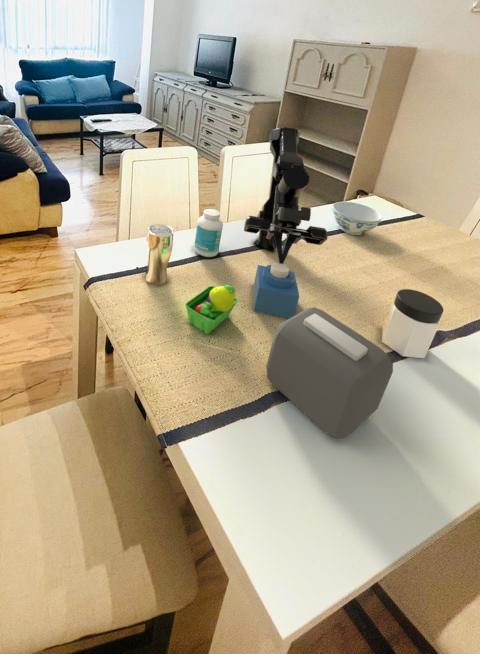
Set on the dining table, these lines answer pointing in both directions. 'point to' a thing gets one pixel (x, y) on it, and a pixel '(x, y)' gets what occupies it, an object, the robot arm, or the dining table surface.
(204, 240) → the pill bottle
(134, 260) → the dining table surface
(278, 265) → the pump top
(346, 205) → the chinaware
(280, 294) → the soap bottle
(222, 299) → the fruit basket
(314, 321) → the alarm clock
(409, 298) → the jar
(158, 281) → the beer glass
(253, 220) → the robot arm
